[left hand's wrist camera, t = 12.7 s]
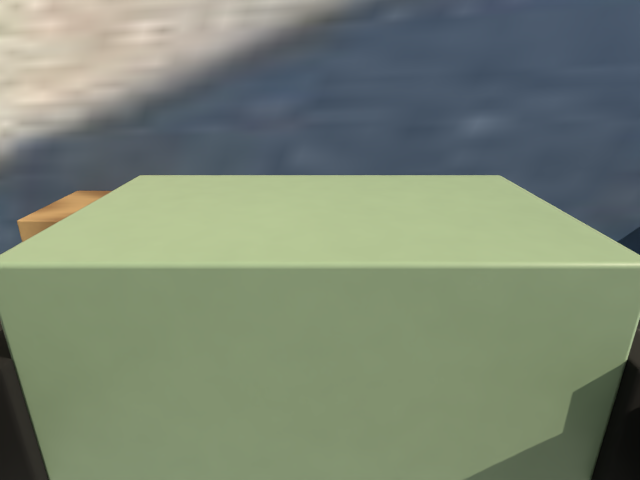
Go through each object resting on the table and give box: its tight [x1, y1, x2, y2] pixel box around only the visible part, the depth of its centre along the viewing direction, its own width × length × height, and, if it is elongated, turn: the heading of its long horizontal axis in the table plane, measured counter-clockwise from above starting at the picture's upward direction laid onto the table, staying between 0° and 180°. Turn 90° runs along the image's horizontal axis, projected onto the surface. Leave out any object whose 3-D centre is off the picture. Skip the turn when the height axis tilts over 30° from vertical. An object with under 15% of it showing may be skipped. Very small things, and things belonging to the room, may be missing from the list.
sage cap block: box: [0, 175, 640, 480], centre depth 10 cm, size 10×6×6 cm, turn 90°
